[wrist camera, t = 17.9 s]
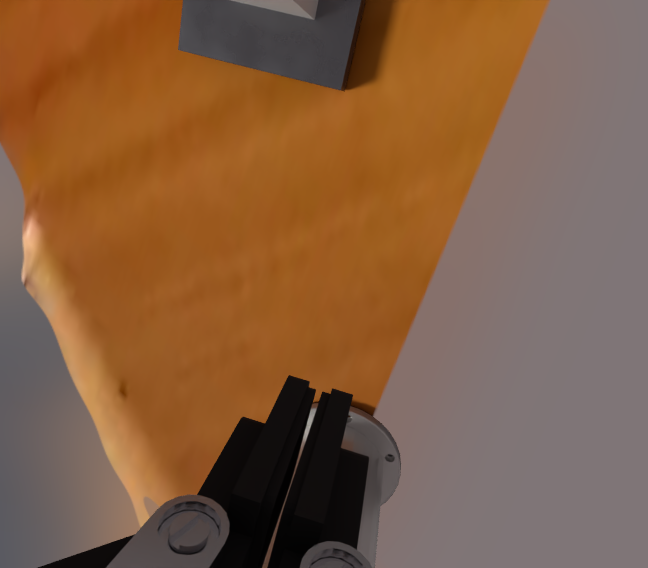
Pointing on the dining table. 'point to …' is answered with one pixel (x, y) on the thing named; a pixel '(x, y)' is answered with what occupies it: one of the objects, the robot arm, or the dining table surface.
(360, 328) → the dining table surface
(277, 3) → the knob
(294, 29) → the plate
